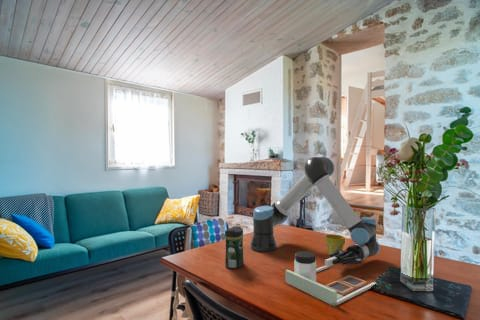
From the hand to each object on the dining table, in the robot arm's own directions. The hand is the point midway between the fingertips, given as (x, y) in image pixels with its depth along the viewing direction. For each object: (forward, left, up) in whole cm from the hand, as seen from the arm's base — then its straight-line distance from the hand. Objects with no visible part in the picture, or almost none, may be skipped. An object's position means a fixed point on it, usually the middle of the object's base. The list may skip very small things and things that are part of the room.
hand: (326, 263), depth 124 cm
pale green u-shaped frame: (+1, -6, -6) cm, 9 cm away
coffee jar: (-42, +8, -6) cm, 43 cm away
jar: (-10, -7, -6) cm, 13 cm away
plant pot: (+9, +31, -6) cm, 32 cm away
